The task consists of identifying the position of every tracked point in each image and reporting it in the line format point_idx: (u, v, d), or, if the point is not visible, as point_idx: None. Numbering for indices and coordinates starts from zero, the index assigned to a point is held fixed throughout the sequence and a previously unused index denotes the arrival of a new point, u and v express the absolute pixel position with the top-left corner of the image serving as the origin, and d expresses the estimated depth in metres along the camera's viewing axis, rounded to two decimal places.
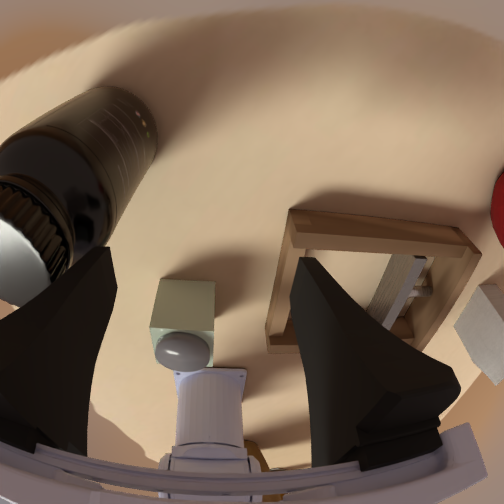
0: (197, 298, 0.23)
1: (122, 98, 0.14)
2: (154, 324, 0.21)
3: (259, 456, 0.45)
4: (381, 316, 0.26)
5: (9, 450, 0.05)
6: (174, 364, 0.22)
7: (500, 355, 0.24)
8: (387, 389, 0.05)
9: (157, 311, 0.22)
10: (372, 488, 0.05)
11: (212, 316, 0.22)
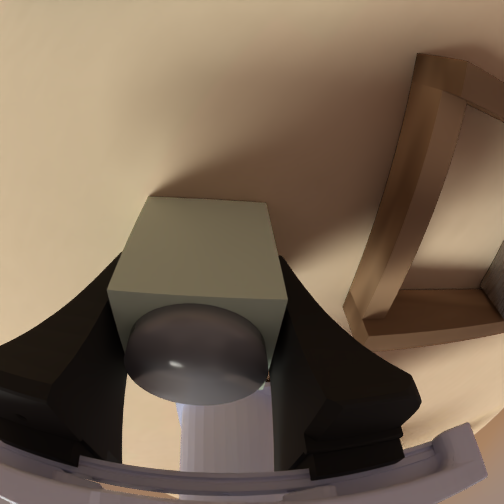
0: (231, 228, 0.10)
1: None
2: (121, 282, 0.07)
3: None
4: None
5: (9, 451, 0.05)
6: (175, 391, 0.09)
7: None
8: (327, 396, 0.05)
9: (133, 254, 0.08)
10: (372, 488, 0.05)
11: (275, 264, 0.09)
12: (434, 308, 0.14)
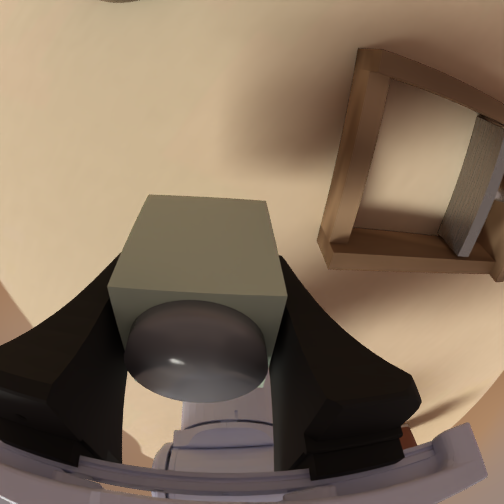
0: (231, 226, 0.10)
1: None
2: (121, 279, 0.07)
3: None
4: (467, 220, 0.17)
5: (9, 451, 0.05)
6: (175, 388, 0.09)
7: None
8: (327, 397, 0.05)
9: (133, 251, 0.08)
10: (372, 488, 0.05)
11: (275, 261, 0.09)
12: (392, 242, 0.19)
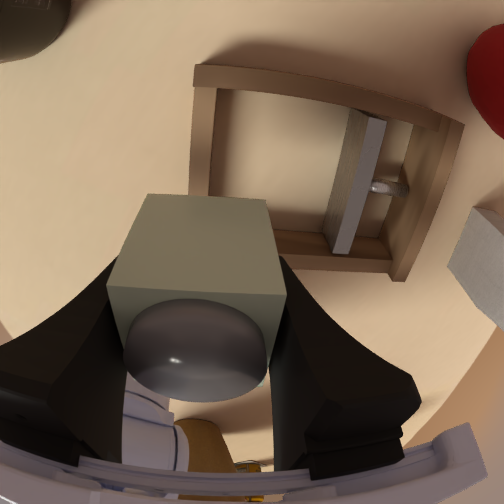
0: (231, 225, 0.10)
1: None
2: (120, 278, 0.07)
3: (217, 439, 0.39)
4: (339, 216, 0.20)
5: (9, 451, 0.05)
6: (174, 387, 0.09)
7: None
8: (327, 396, 0.05)
9: (132, 249, 0.08)
10: (372, 488, 0.05)
11: (274, 260, 0.09)
12: None
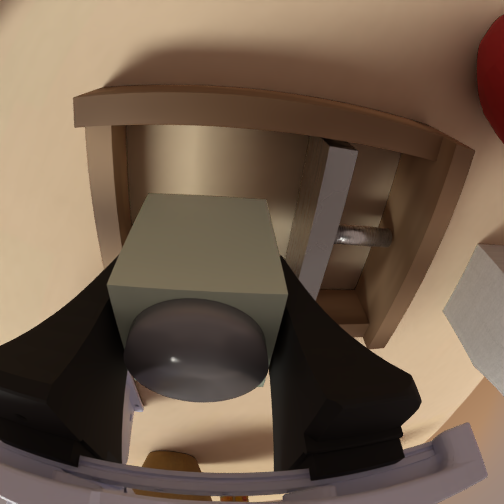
0: (231, 224, 0.10)
1: None
2: (121, 277, 0.07)
3: None
4: None
5: (9, 451, 0.05)
6: (175, 387, 0.09)
7: None
8: (327, 396, 0.05)
9: (133, 249, 0.08)
10: (372, 488, 0.05)
11: (275, 260, 0.09)
12: None
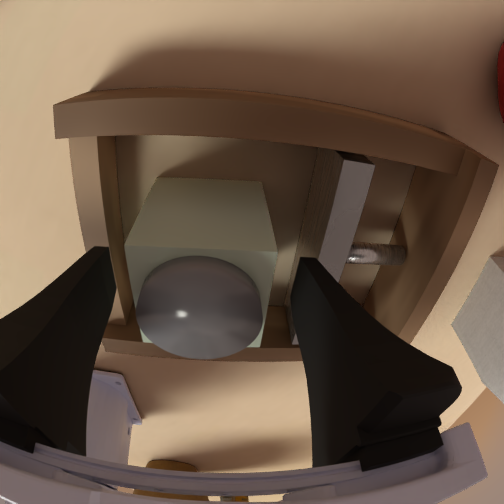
0: (230, 200, 0.12)
1: None
2: (136, 239, 0.09)
3: None
4: None
5: (9, 451, 0.05)
6: (180, 342, 0.10)
7: None
8: (388, 389, 0.05)
9: (146, 219, 0.10)
10: (372, 488, 0.05)
11: (268, 226, 0.10)
12: None
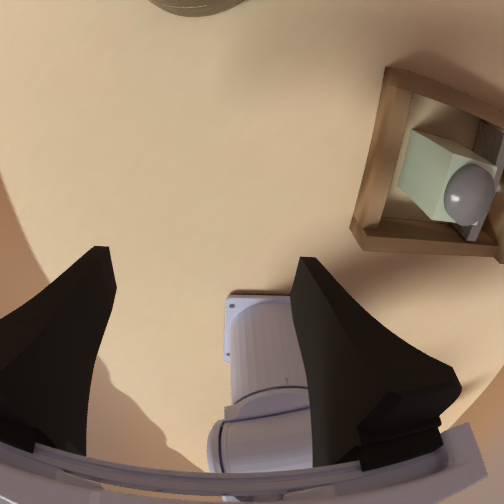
0: (458, 146, 0.17)
1: None
2: (453, 152, 0.15)
3: None
4: None
5: (9, 451, 0.05)
6: (462, 212, 0.16)
7: None
8: (388, 389, 0.05)
9: (443, 146, 0.16)
10: (372, 488, 0.05)
11: (484, 159, 0.16)
12: (412, 229, 0.22)
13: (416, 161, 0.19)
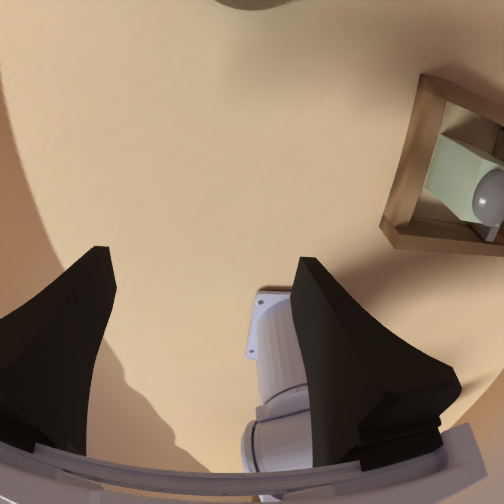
0: (482, 151, 0.18)
1: None
2: (483, 158, 0.15)
3: None
4: None
5: (9, 451, 0.05)
6: (488, 213, 0.16)
7: None
8: (388, 389, 0.05)
9: (472, 151, 0.16)
10: (372, 488, 0.05)
11: None
12: (437, 228, 0.22)
13: (445, 164, 0.19)
